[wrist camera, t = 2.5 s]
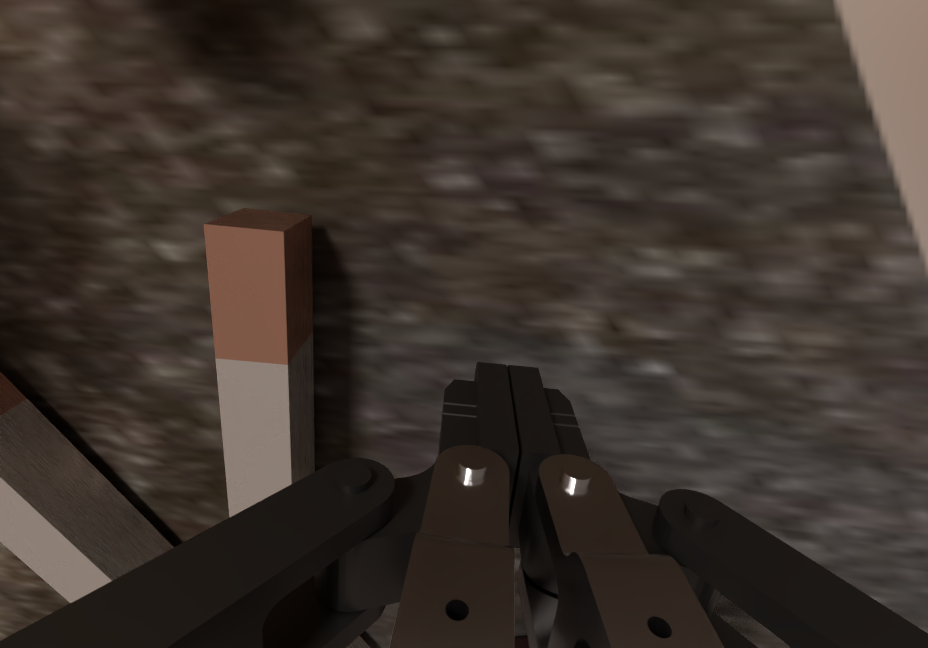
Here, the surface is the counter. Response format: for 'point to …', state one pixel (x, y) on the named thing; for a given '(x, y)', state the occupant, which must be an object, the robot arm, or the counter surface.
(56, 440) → the tongs fixed leg
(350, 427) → the counter surface
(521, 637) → the bottle
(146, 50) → the counter surface
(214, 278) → the leg
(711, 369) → the counter surface
